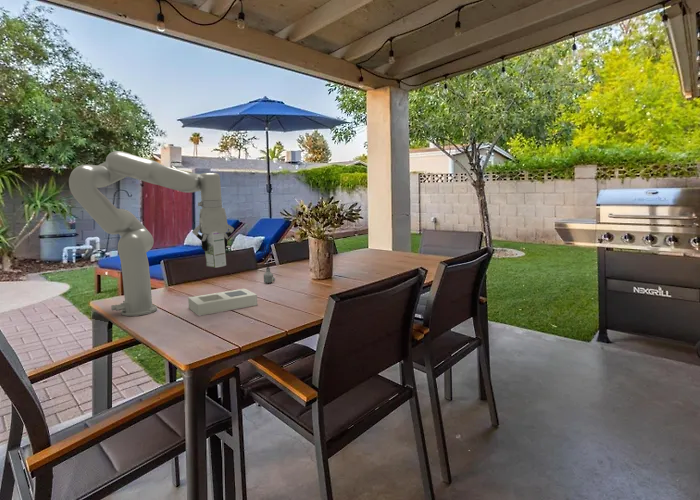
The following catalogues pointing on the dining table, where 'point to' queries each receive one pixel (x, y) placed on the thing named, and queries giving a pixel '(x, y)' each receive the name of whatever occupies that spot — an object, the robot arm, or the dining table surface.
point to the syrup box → (215, 250)
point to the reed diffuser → (267, 269)
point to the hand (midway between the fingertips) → (215, 249)
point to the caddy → (222, 301)
